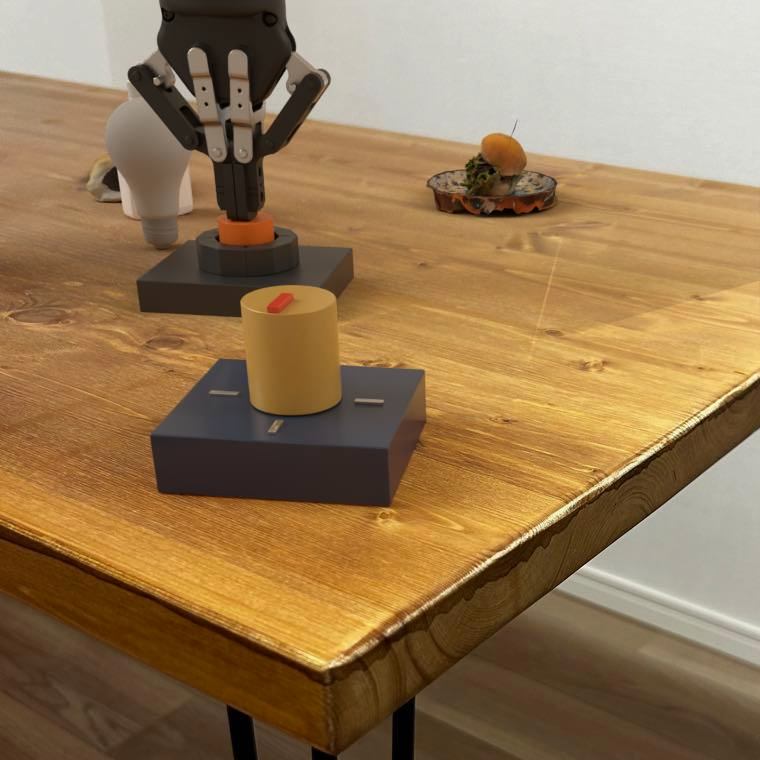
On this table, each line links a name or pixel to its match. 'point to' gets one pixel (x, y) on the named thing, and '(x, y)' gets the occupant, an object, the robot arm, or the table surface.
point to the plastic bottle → (126, 194)
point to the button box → (238, 273)
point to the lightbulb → (148, 167)
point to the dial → (292, 349)
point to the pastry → (104, 180)
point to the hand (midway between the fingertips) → (242, 217)
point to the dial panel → (292, 440)
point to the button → (246, 230)
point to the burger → (494, 180)
